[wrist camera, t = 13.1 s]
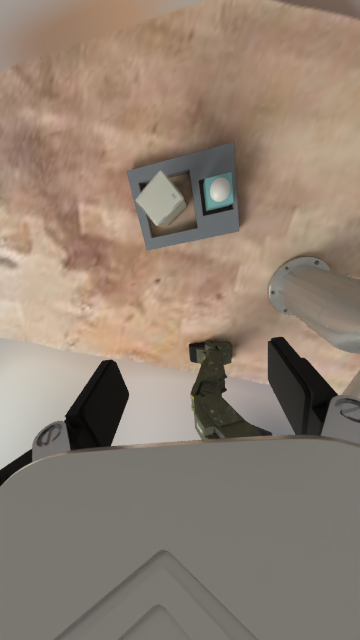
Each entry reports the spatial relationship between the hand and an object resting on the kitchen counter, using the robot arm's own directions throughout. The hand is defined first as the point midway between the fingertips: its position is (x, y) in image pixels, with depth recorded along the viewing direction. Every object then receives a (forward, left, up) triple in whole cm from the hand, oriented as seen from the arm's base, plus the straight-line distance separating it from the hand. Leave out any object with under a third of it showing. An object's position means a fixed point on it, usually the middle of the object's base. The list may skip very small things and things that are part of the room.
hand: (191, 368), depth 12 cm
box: (+2, -12, -32) cm, 35 cm away
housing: (-1, -12, -32) cm, 34 cm away
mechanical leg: (-2, +22, -32) cm, 39 cm away
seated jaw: (-6, -12, -32) cm, 35 cm away
